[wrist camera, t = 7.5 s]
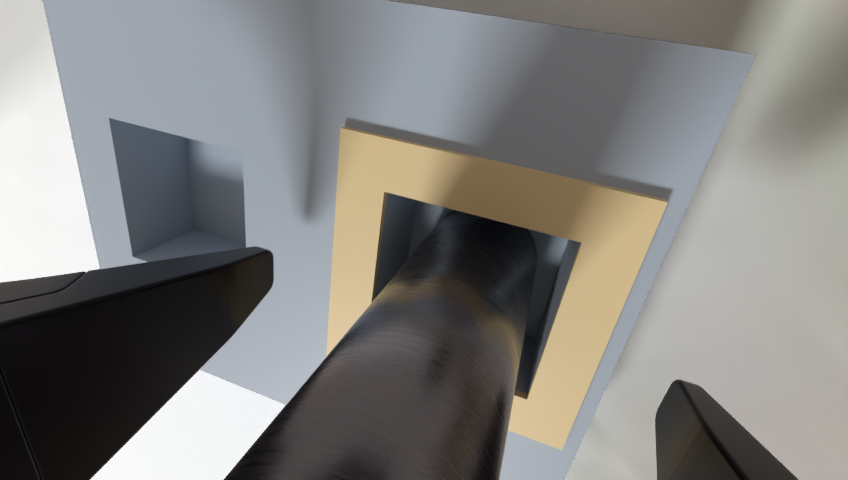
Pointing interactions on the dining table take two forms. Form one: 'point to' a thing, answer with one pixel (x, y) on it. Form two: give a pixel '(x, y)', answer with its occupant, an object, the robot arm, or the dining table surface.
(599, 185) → the socket board
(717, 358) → the dining table surface
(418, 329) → the pin
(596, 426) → the dining table surface
